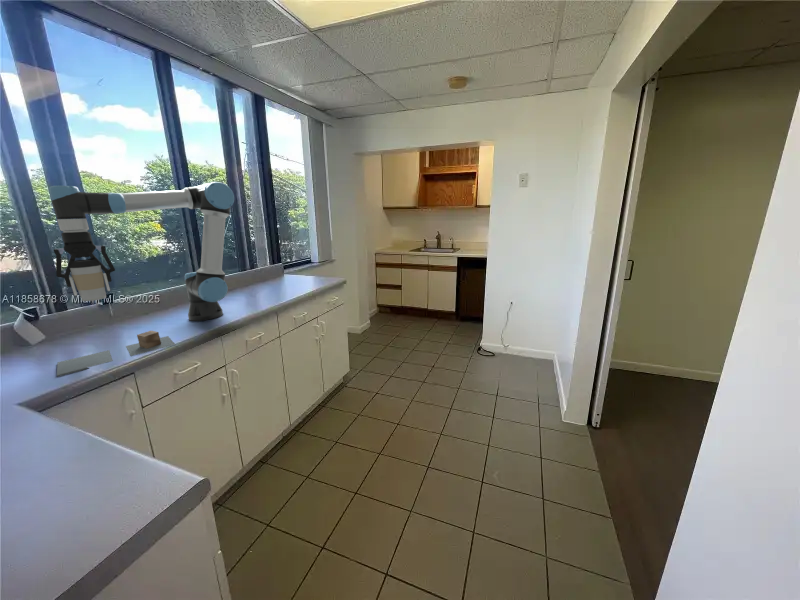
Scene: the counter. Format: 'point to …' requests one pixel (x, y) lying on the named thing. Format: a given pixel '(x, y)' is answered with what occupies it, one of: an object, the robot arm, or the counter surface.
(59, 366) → the pad
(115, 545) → the counter surface
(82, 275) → the coffee cup
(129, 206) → the robot arm
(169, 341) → the pad
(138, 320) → the counter surface
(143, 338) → the walnut block
